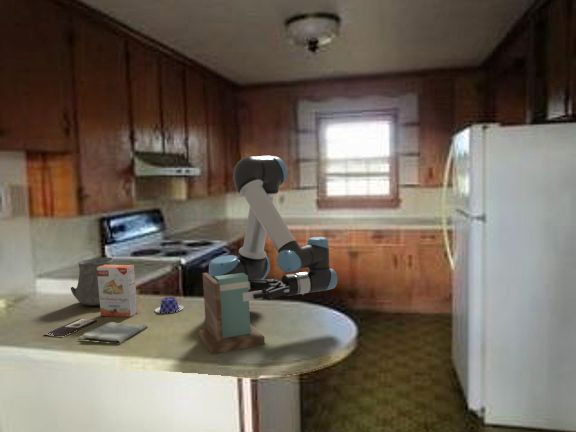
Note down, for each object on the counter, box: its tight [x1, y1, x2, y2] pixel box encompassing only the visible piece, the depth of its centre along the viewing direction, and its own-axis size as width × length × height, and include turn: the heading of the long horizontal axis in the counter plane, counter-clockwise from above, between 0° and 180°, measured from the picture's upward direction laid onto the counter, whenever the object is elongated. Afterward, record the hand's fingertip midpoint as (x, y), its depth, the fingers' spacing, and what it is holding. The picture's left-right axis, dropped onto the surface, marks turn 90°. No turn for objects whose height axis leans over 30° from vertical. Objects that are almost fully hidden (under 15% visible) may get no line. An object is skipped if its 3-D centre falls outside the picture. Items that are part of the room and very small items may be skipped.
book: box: [215, 273, 251, 338], centre depth 159 cm, size 5×10×20 cm, turn 113°
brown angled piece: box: [198, 272, 266, 356], centre depth 160 cm, size 18×18×22 cm
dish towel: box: [78, 321, 148, 345], centre depth 172 cm, size 19×18×3 cm
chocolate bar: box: [47, 318, 98, 336], centre depth 181 cm, size 9×1×18 cm
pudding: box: [154, 296, 185, 314], centre depth 199 cm, size 12×12×5 cm
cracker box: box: [97, 264, 139, 318], centre depth 194 cm, size 14×6×21 cm, turn 76°
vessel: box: [70, 256, 114, 307], centre depth 213 cm, size 22×22×20 cm
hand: (237, 292), depth 159 cm, fingers open, 13 cm apart
